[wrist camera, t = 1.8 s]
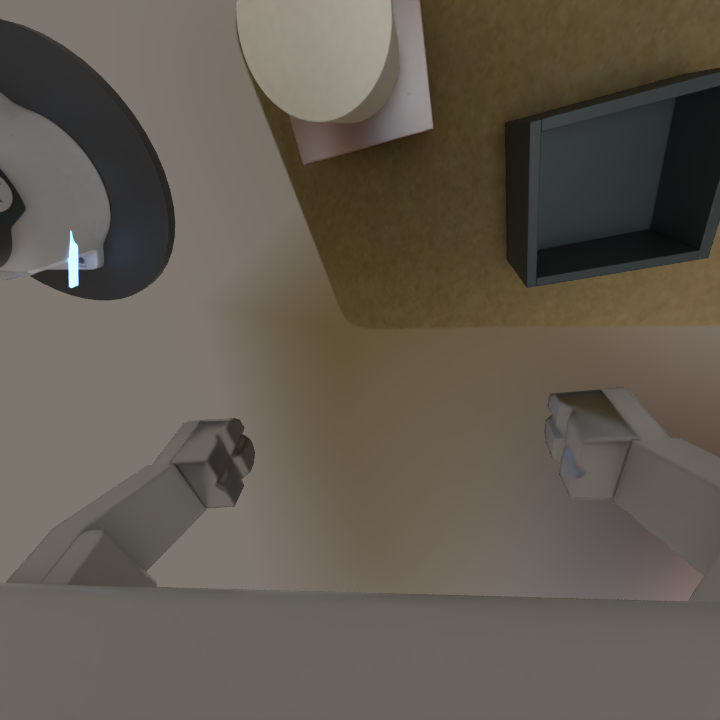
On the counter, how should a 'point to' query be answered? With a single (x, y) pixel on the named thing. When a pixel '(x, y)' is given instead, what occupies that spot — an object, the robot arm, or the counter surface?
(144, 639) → the robot arm
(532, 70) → the counter surface
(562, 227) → the bin
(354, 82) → the cream candle
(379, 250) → the counter surface
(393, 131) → the brown rectangular block
